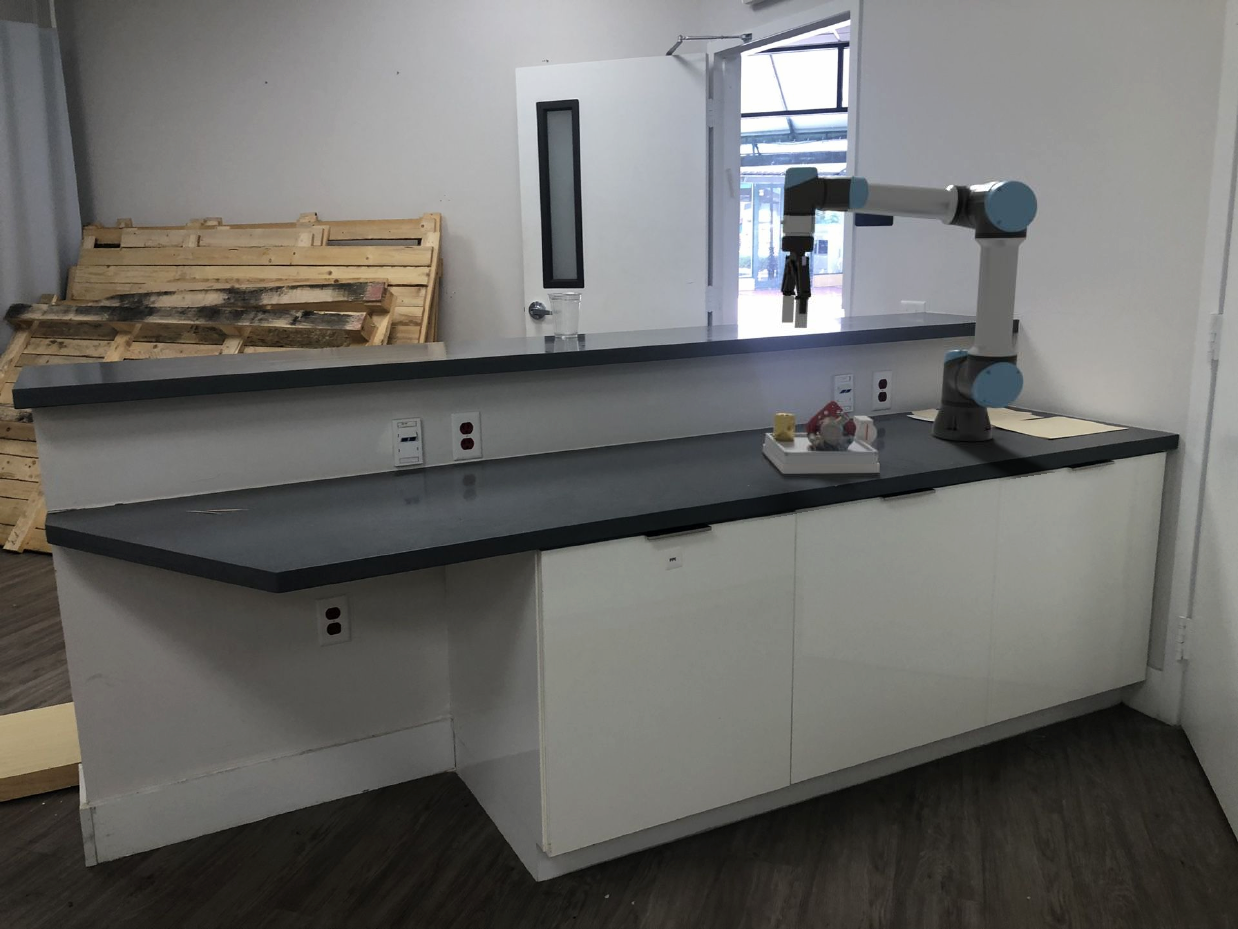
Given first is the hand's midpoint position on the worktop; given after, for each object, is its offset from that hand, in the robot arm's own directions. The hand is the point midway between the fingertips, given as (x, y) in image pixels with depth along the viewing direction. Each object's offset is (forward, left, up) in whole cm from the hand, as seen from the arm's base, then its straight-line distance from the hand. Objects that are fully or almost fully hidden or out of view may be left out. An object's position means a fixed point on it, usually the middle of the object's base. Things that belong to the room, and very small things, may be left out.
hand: (793, 325), depth 234 cm
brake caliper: (-6, +18, -27) cm, 33 cm away
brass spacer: (+3, +8, -27) cm, 28 cm away
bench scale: (-6, +14, -31) cm, 34 cm away
